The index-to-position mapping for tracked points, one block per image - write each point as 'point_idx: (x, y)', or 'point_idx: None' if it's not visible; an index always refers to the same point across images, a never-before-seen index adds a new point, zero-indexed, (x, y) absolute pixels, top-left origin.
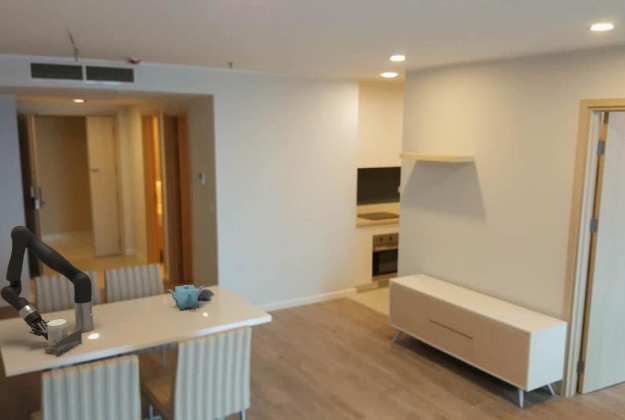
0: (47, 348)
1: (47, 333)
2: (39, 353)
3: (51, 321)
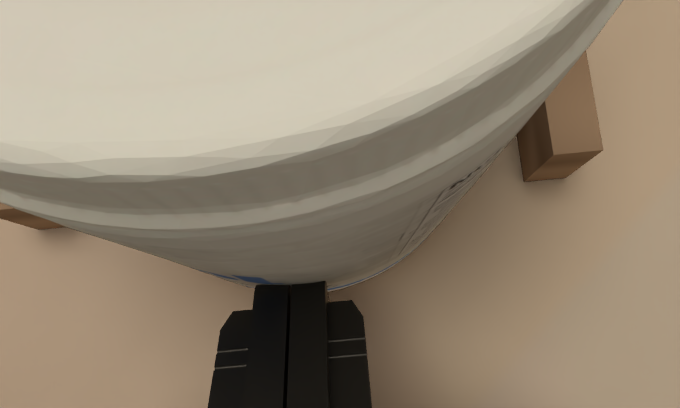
0: (591, 89)
1: (287, 402)
2: (610, 274)
3: (151, 15)
